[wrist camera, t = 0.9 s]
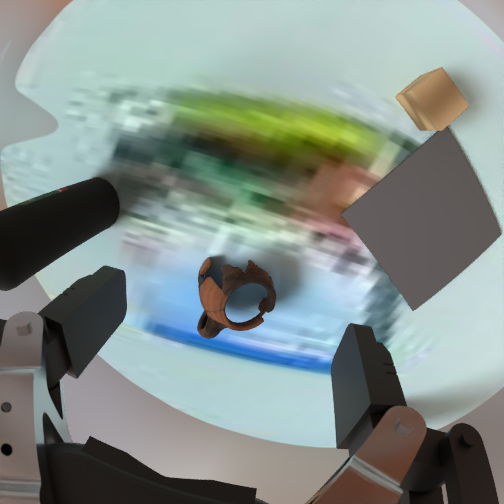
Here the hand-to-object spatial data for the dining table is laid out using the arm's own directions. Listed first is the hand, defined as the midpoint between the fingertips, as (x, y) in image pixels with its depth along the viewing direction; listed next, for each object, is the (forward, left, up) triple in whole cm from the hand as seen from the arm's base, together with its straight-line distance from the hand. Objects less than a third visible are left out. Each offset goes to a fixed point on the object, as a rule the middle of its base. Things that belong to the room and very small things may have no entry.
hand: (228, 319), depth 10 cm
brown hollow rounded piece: (-6, +13, -26) cm, 30 cm away
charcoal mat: (-16, -13, -26) cm, 33 cm away
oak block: (-3, -21, -26) cm, 34 cm away
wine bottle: (+16, +19, -26) cm, 36 cm away
